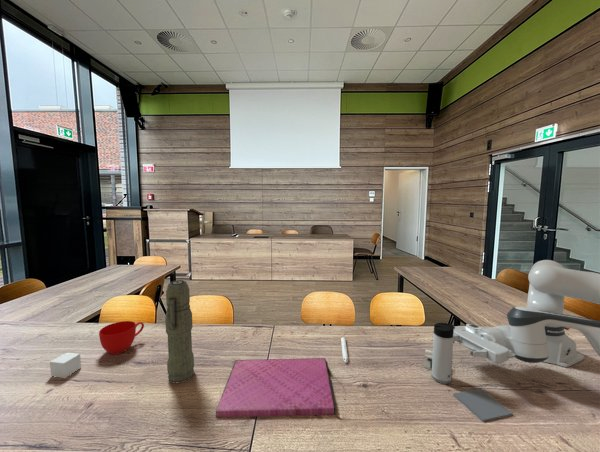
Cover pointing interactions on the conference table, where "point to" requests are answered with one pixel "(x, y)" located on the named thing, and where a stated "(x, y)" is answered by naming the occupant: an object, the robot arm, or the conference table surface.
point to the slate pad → (482, 404)
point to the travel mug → (442, 352)
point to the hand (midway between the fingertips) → (460, 346)
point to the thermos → (179, 332)
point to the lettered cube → (428, 359)
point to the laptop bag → (278, 388)
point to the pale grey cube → (65, 365)
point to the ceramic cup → (118, 336)
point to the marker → (344, 350)
